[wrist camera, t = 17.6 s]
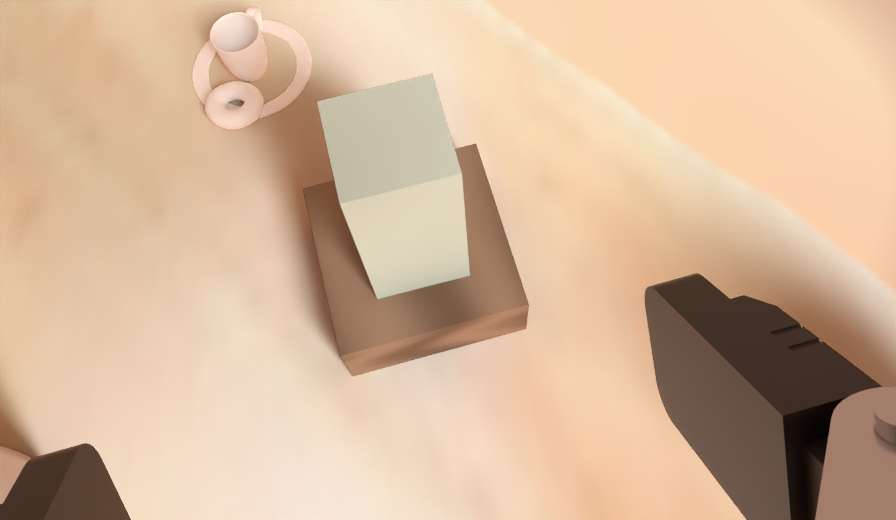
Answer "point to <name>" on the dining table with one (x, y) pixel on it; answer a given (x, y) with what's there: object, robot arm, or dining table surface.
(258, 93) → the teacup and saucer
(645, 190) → the dining table surface
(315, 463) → the dining table surface
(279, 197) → the dining table surface
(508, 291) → the walnut plinth
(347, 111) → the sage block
